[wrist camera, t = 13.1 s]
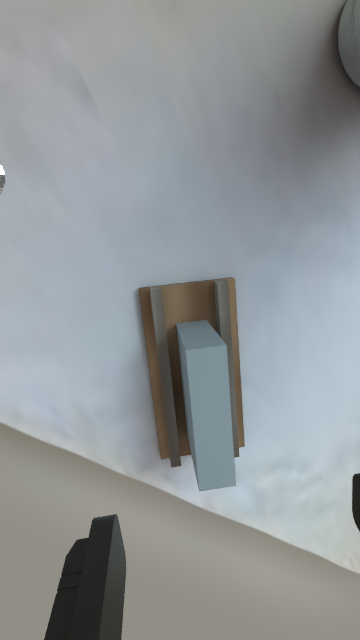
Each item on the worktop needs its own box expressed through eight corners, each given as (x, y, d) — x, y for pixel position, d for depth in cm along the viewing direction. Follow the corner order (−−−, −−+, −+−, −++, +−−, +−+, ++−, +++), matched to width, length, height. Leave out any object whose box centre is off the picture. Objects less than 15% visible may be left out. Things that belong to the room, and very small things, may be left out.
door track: (232, 277, 32) (239, 280, 30) (241, 441, 36) (248, 455, 34) (139, 287, 31) (138, 291, 29) (160, 453, 36) (161, 468, 33)
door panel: (206, 319, 32) (226, 345, 24) (215, 430, 35) (235, 485, 27) (175, 323, 31) (185, 350, 24) (187, 435, 34) (199, 491, 27)
